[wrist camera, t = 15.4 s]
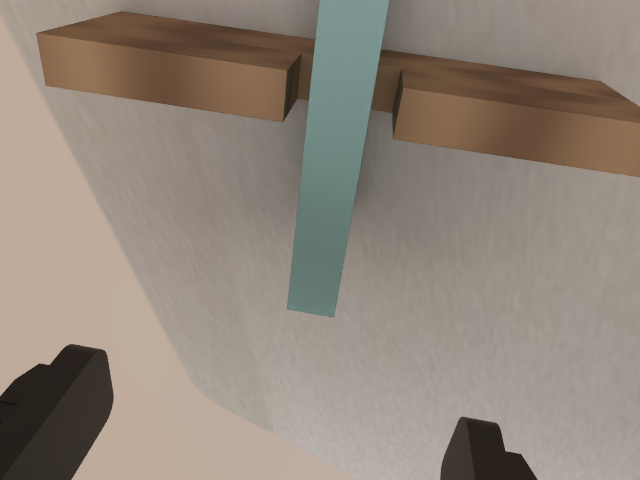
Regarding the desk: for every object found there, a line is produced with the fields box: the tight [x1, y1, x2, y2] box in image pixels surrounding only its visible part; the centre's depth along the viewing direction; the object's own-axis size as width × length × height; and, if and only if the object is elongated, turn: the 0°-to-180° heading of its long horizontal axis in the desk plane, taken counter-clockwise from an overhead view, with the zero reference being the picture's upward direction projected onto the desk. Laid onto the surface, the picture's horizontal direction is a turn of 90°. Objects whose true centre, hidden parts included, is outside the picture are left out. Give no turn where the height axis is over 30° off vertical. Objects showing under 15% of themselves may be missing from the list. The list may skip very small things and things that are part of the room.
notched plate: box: [287, 0, 389, 317], centre depth 21 cm, size 2×14×10 cm, turn 173°
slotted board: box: [36, 11, 640, 177], centre depth 22 cm, size 24×2×7 cm, turn 83°
